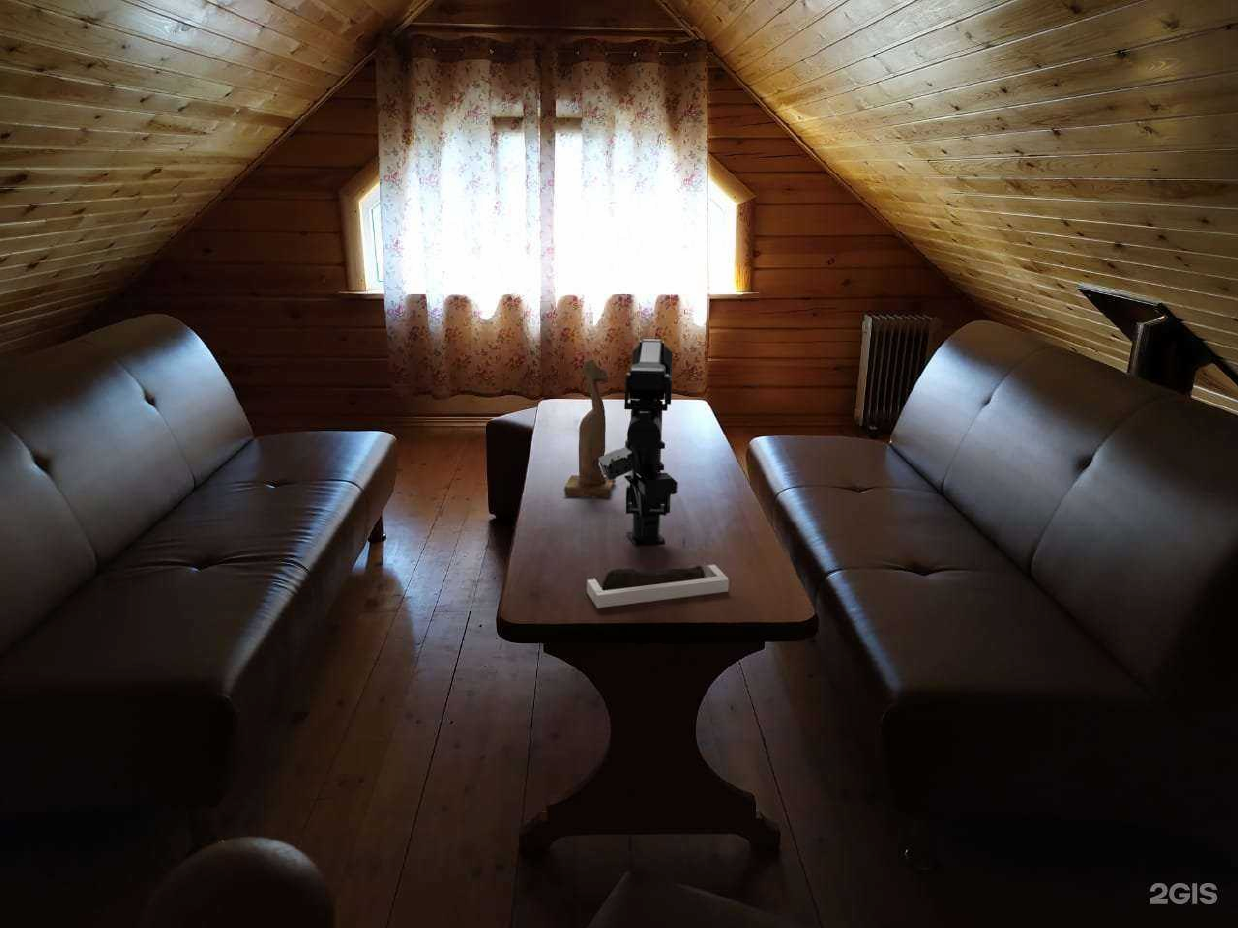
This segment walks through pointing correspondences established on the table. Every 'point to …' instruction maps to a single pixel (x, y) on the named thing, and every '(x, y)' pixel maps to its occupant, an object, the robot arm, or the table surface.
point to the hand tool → (649, 577)
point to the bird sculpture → (591, 443)
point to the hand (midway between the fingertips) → (643, 515)
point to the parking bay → (658, 590)
